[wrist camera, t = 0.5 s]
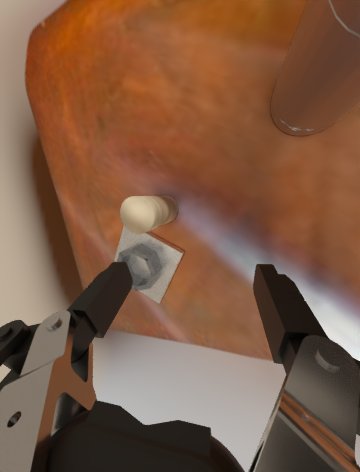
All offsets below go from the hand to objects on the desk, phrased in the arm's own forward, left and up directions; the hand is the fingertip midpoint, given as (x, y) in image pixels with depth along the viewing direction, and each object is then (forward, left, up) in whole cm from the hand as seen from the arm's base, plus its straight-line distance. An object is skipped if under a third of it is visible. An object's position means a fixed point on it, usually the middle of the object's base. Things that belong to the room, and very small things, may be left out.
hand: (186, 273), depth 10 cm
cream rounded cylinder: (+2, -10, -20) cm, 22 cm away
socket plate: (+15, -10, -19) cm, 27 cm away
